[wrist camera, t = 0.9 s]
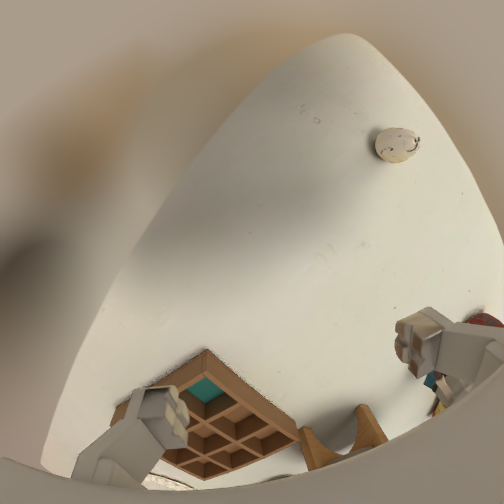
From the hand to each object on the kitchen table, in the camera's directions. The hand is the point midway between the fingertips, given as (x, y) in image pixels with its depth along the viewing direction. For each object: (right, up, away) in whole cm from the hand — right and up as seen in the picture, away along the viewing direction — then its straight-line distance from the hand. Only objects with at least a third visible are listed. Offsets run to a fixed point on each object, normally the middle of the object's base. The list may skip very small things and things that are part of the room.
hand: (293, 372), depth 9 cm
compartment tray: (-7, -16, +19) cm, 26 cm away
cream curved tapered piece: (-17, -35, +23) cm, 45 cm away
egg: (+11, +14, +14) cm, 22 cm away
